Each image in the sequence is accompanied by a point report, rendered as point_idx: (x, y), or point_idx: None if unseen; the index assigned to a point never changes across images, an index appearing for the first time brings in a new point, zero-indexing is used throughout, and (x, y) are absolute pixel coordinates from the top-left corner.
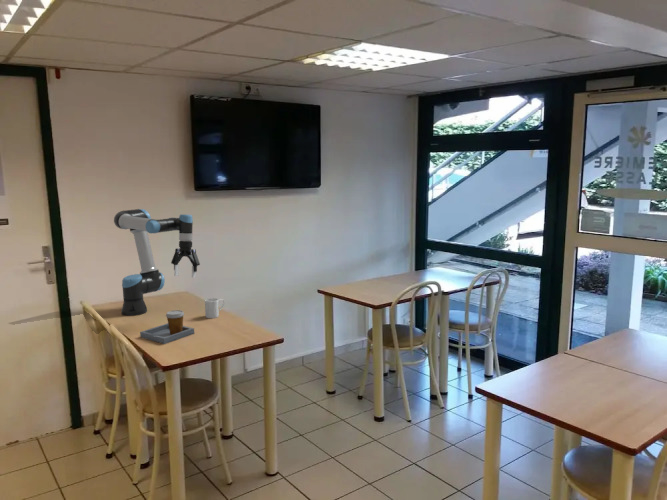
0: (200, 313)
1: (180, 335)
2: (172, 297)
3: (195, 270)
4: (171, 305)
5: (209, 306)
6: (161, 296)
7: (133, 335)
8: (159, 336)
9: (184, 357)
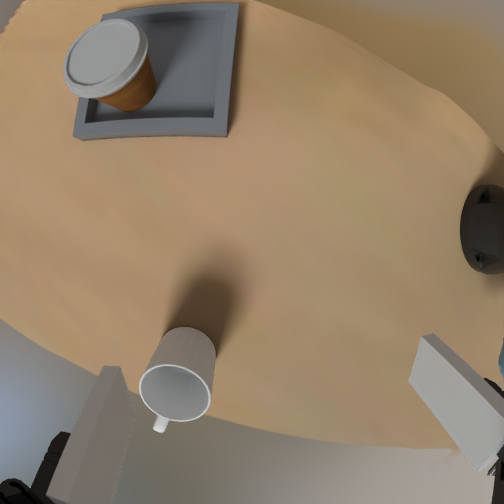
0: (268, 360)
1: None
2: None
3: (53, 449)
4: None
5: (161, 353)
6: None
7: (280, 18)
8: (131, 13)
9: (17, 26)
